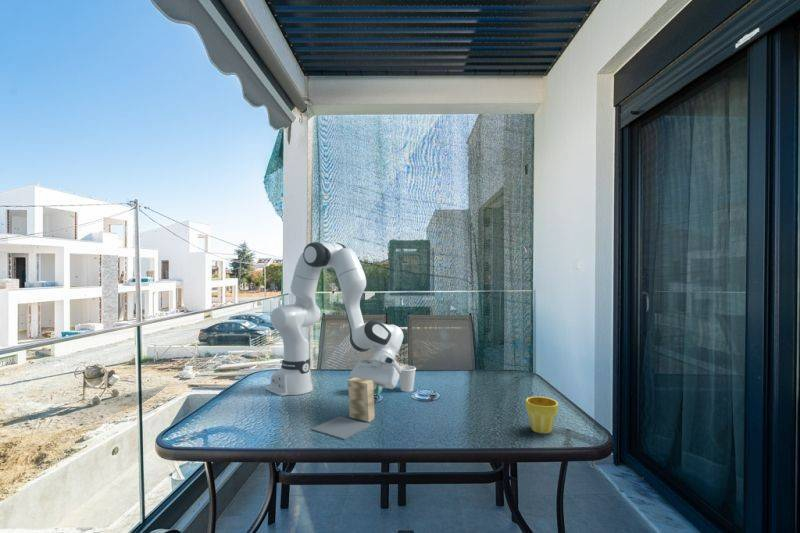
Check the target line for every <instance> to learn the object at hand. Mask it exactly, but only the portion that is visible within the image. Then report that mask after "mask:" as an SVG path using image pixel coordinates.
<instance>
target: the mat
mask: <svg viewBox="0 0 800 533" xmlns="http://www.w3.org/2000/svg"><path fill="white" fill-rule="evenodd" d="M370 427H372V424H371V423H368V422H362V421H361V420H357V419H356V420H355V419H353V418H352V419H351V418H348V417H344V416H341V415H338V416H337V417H333V419H330V420H328V421H326V422H323V423H321V424H319V425H316V426H314V427H312V428H311V431H315V432H318V433H321V434H324V435H328V436H329V437H330V436H331V437H333V438H337V439H341V440H344V441H345V440H347V439H349V438H351V437H353V436H355V435H357V434H358V433H361V432H362V431H365V430H366V429H368V428H370Z"/></svg>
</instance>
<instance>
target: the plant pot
mask: <svg viewBox="0 0 800 533" xmlns="http://www.w3.org/2000/svg"><path fill="white" fill-rule="evenodd" d="M525 410H526V411H527V414H528V419H529V423H530V424H529V425H530V428H531V430H532V431H533V432H535V433H538V434H546V435H547V434H549V433H552V431H553V427H554V423H555V418H556V415H557V414H559V413H558V412H559V402H558V401H557V400H555V399H554V398H550V397H546V396H530V397H527V398H526V399H525Z"/></svg>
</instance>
